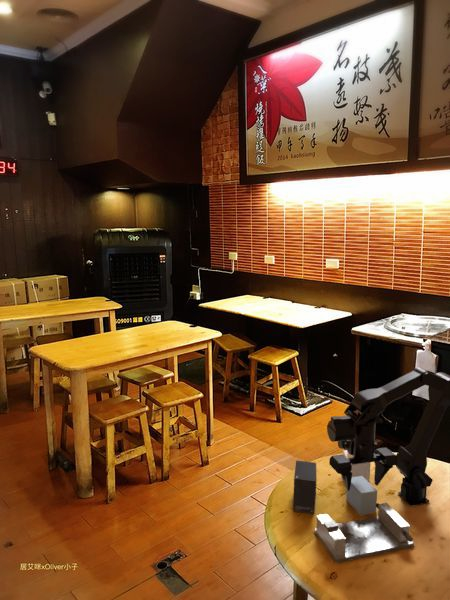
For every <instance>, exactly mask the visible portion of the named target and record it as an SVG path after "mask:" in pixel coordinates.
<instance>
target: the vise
mask: <svg viewBox="0 0 450 600" xmlns="http://www.w3.org/2000/svg"><path fill="white" fill-rule="evenodd" d="M314 534H315V535H316V537H317V538H318V540H319V541H320V542H321V543H322V545H323V547H324V548H325V550H326V551H327V552H328V553H329V555H330V557H331V558H332V559H333V561H334V562H335V564H338V563H342V562H343V563H344V562H347V561H353V560H356V559H357V560H358V559H362V558H367V557H371V556H377V555H381V554H386V553H390V552H391V553H392V552H395V551H400V550H405V549H410V548H413V547H415V542H414V541H413V540H412V541H411V542H409V541H405V542H399V541H398V540H397V539H396V538H395V537H394V535H393V534H392V533H391V532H390V531H389V530H388V529H387V528H386V527H385V526H384V525H383V524H382V523H381V521H380V520H379V519H378V516H374V517H369V518H363V519H359V520H352V521H347V522H343V523H337V522H336V520H335V519H332V518H331V517H330V515H329V514H328V513H324V514H319V515H316V527H315V528H314Z"/></svg>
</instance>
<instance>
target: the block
mask: <svg viewBox="0 0 450 600" xmlns="http://www.w3.org/2000/svg"><path fill="white" fill-rule="evenodd" d="M345 496H346V497H345V500H346V501H347V502H348V504H350V506H351V507H352V508H353V509H354V511H356V513H357V514H358V515H359V516H366V515H372V514H377V507H376V504H377V501H378V490H377V489H376V488H375V487H374V486H373V485H372V484H371V483H370V482H369V481H367V480H366V479H365V478H364V477H363V476H358V477H352V479H351V486H350V490H349V491H348V490H347V489H346V495H345Z"/></svg>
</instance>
